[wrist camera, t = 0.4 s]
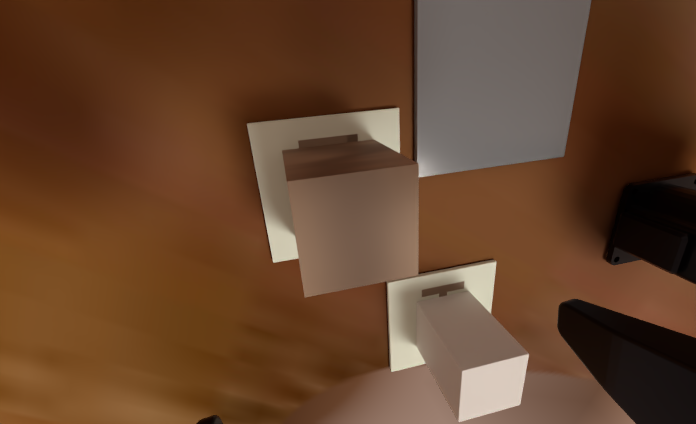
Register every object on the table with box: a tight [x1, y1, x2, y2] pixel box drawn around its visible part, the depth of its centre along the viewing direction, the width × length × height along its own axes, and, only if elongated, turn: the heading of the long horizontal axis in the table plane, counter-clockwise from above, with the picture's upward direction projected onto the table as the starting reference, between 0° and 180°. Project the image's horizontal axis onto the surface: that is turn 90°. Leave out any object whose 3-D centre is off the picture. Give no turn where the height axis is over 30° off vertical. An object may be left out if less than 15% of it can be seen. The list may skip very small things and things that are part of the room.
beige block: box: [416, 291, 529, 422], centre depth 21 cm, size 4×4×6 cm
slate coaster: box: [414, 0, 591, 177], centre depth 18 cm, size 10×10×1 cm
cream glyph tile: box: [247, 108, 400, 263], centre depth 19 cm, size 8×8×1 cm
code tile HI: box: [386, 260, 496, 372], centre depth 24 cm, size 8×8×1 cm
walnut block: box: [282, 139, 419, 297], centre depth 16 cm, size 5×5×6 cm
